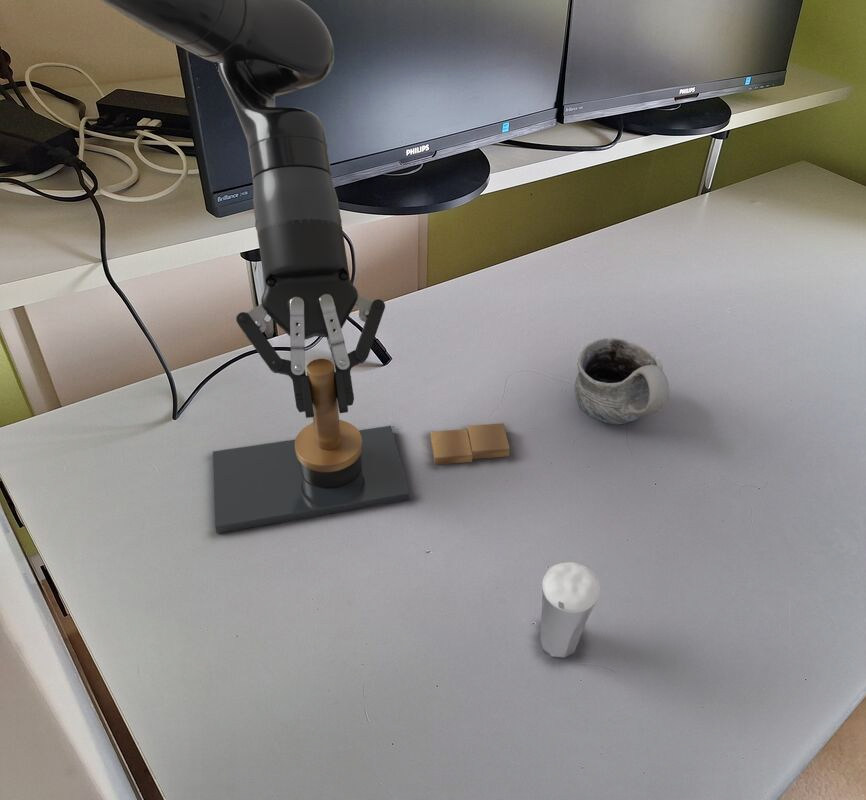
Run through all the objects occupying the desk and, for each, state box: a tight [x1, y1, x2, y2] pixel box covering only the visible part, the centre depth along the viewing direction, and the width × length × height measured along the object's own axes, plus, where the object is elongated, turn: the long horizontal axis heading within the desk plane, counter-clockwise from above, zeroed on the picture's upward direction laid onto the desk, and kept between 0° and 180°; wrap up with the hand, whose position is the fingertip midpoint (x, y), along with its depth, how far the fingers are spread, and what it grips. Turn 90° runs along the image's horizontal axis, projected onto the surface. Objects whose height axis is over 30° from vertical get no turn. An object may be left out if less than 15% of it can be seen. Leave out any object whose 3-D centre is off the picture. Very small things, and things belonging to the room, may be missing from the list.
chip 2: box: [466, 423, 510, 460], centre depth 82 cm, size 4×4×1 cm
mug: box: [574, 336, 670, 425], centre depth 85 cm, size 10×12×10 cm
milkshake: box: [539, 561, 601, 659], centre depth 62 cm, size 4×5×10 cm
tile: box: [212, 425, 410, 534], centre depth 76 cm, size 18×10×1 cm, turn 109°
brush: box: [294, 358, 362, 488], centre depth 72 cm, size 6×6×13 cm
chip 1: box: [430, 428, 473, 466], centre depth 81 cm, size 4×4×1 cm
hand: (327, 413), depth 69 cm, fingers closed on brush, 2 cm apart
